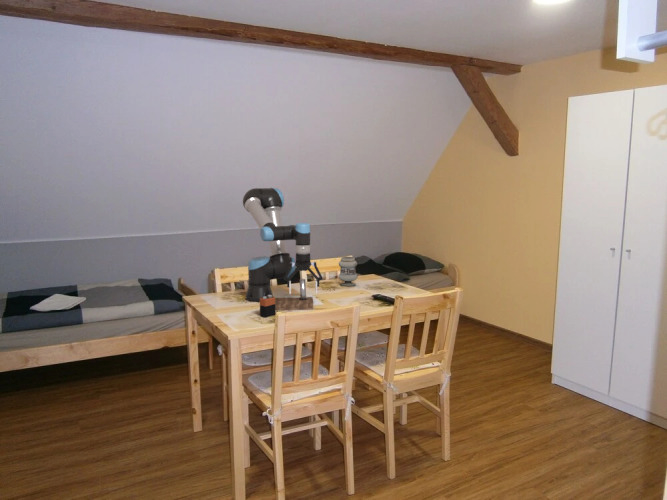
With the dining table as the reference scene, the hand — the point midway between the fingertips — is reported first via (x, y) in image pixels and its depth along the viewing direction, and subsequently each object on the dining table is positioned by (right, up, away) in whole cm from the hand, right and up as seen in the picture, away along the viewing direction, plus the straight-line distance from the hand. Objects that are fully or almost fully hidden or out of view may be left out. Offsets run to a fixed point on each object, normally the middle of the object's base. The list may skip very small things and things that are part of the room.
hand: (303, 293), depth 259 cm
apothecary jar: (+25, 0, +56) cm, 61 cm away
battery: (-17, -10, -14) cm, 24 cm away
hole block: (-7, -8, 0) cm, 10 cm away
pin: (0, -7, +1) cm, 7 cm away
